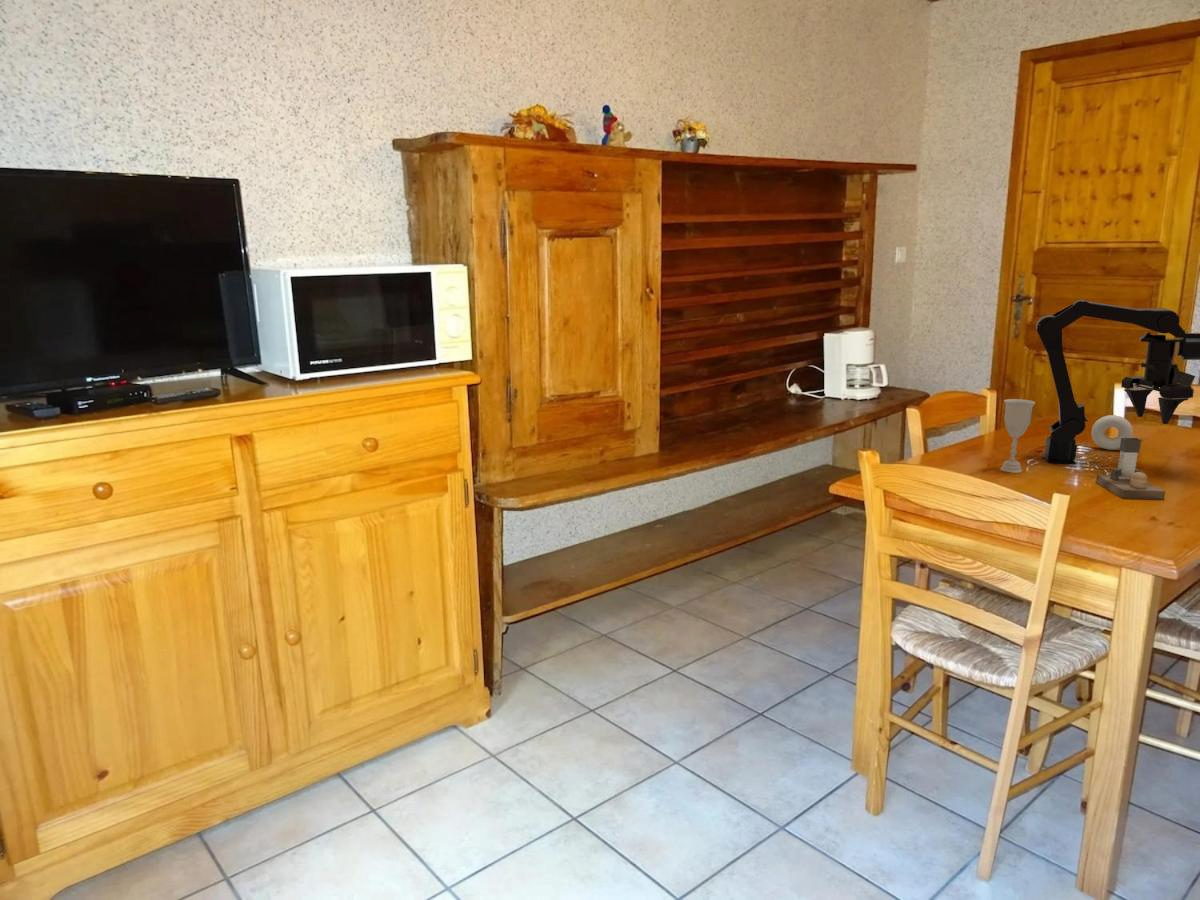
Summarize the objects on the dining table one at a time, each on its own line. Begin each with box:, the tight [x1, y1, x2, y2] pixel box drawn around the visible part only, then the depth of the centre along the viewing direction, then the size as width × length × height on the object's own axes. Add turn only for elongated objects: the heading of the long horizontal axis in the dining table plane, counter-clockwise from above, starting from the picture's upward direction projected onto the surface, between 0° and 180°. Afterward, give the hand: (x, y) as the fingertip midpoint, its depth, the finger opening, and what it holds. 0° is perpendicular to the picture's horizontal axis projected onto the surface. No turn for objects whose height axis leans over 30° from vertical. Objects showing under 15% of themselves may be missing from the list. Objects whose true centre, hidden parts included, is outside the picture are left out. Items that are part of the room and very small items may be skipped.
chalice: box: [999, 398, 1036, 474], centre depth 213 cm, size 7×7×18 cm
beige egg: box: [1130, 471, 1148, 489], centre depth 193 cm, size 3×3×4 cm
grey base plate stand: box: [1095, 468, 1166, 501], centre depth 197 cm, size 13×9×4 cm
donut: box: [1091, 414, 1134, 451], centre depth 234 cm, size 10×4×10 cm, turn 59°
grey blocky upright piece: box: [1117, 437, 1142, 477], centre depth 198 cm, size 2×3×9 cm, turn 84°
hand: (1152, 420), depth 213 cm, fingers open, 9 cm apart
